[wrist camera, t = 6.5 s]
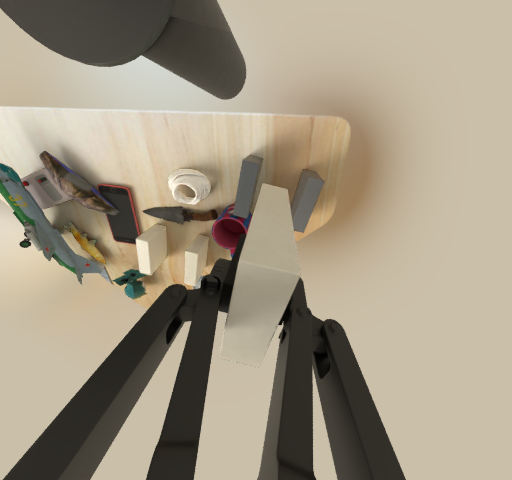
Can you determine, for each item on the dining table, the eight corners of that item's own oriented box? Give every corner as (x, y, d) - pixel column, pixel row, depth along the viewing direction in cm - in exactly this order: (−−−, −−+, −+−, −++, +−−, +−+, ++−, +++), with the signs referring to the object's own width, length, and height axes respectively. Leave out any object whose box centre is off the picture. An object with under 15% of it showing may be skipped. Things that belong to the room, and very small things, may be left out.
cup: (253, 205, 38) (249, 219, 32) (250, 247, 43) (246, 265, 37) (221, 202, 39) (210, 214, 33) (222, 243, 44) (213, 261, 38)
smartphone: (128, 188, 38) (141, 245, 45) (130, 187, 39) (143, 244, 46) (95, 183, 39) (114, 241, 46) (97, 182, 39) (115, 240, 46)
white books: (157, 254, 47) (139, 272, 41) (155, 223, 43) (135, 238, 37) (205, 266, 48) (195, 286, 42) (209, 236, 43) (197, 254, 37)
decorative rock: (118, 211, 40) (103, 226, 41) (123, 208, 42) (109, 222, 43) (39, 148, 34) (24, 167, 35) (50, 148, 36) (35, 166, 37)
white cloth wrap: (210, 167, 36) (203, 168, 32) (215, 202, 39) (208, 208, 35) (170, 168, 37) (157, 170, 32) (177, 203, 39) (166, 209, 35)
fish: (108, 262, 47) (96, 269, 49) (114, 257, 49) (103, 264, 50) (67, 220, 43) (56, 229, 45) (76, 217, 45) (65, 226, 46)
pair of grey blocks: (240, 202, 38) (232, 215, 32) (249, 154, 34) (242, 159, 28) (299, 217, 38) (303, 233, 32) (316, 172, 34) (324, 181, 28)
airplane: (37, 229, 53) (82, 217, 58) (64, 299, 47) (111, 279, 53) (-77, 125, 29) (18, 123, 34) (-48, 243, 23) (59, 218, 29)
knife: (216, 211, 38) (211, 235, 39) (219, 210, 40) (215, 233, 41) (140, 190, 39) (138, 214, 40) (147, 191, 41) (145, 213, 42)
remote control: (87, 193, 41) (74, 197, 38) (38, 211, 44) (23, 216, 42) (64, 161, 38) (48, 163, 35) (14, 184, 41) (-4, 187, 39)
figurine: (105, 274, 51) (119, 296, 54) (92, 290, 43) (108, 315, 46) (151, 258, 55) (162, 279, 57) (147, 269, 47) (160, 294, 49)
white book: (247, 246, 26) (218, 358, 13) (262, 182, 22) (238, 260, 9) (268, 251, 26) (259, 368, 13) (287, 189, 22) (301, 275, 9)
